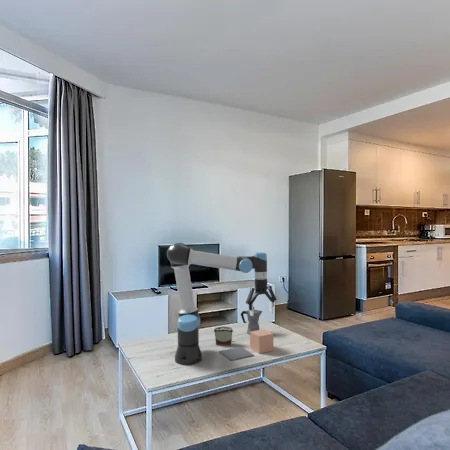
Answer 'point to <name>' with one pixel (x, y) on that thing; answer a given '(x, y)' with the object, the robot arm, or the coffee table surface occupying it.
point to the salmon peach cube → (261, 341)
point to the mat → (236, 353)
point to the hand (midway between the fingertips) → (261, 314)
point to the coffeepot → (252, 320)
